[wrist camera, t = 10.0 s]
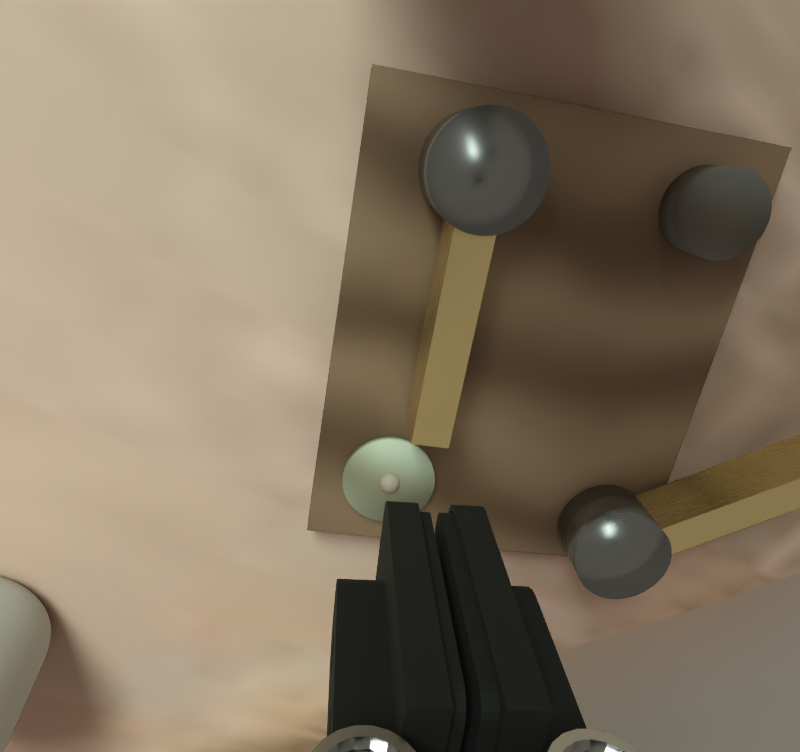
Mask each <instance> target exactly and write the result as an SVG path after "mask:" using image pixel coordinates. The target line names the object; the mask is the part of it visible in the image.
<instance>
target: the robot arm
mask: <svg viewBox="0 0 800 752" xmlns="http://www.w3.org/2000/svg"><path fill="white" fill-rule="evenodd" d="M312 752H639V751H637V750H636V749H635V748H634V747H633V746H632V745H630V744H629V743H627V742H625V741H623V740H621V739H620V738H618V737H616V736H614V735H613V734H609V733H606V732H603V731H599V730H596V729H587V728H586V726H585V723H584V721H583V718H582V715H581V713H580V710H579V708H578V705H577V702H576V700H575V697H574V695H573V692H572V689H571V687H570V684H569V682H568V679H567V676H566V674H565V671H564V669H563V666H562V663H561V661H560V658H559V656H558V653H557V650H556V648H555V645H554V643H553V640H552V637H551V635H550V632H549V630H548V627H547V624H546V622H545V619H544V617H543V614H542V611H541V609H540V606H539V604H538V601H537V598H536V596H535V594H534V592H533V590H532V589H531V588H529V587H523V586H511V584H510V581H509V578H508V575H507V572H506V569H505V566H504V563H503V560H502V557H501V554H500V551H499V548H498V545H497V542H496V540H495V537H494V534H493V531H492V528H491V525H490V522H489V519H488V516H487V513H486V510H485V508H484V507H483V506H469V505H451V506H450V508H449V511H448V513H440V512H439V513H438V516H437V520H436V527H435V533H434V528H433V523H432V518H431V513H430V512H422V511H420V508H419V504H418V503H414V502H396V501H386V503H385V508H384V515H383V523H382V532H381V540H380V549H379V557H378V565H377V574H376V580H352V579H337V583H336V592H335V603H334V615H333V627H332V641H331V657H330V678H329V701H328V724H327V737H326V738H324V739H323V740H321V742H320V743H319V744H318V745H317V746H316V747H315V749H314V750H313V751H312Z"/></svg>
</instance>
